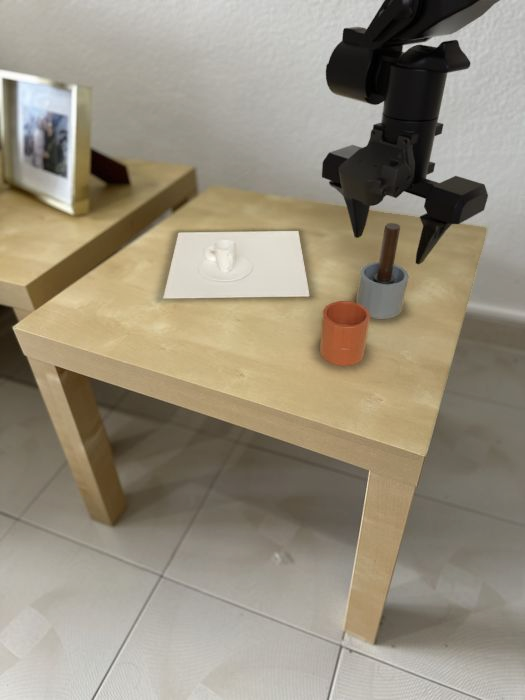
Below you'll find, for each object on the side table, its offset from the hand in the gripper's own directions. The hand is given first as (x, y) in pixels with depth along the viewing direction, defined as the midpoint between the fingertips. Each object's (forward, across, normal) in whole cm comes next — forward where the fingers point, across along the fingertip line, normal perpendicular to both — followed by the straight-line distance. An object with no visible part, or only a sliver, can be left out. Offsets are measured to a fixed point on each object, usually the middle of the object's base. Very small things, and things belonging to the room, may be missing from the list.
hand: (387, 249), depth 63 cm
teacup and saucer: (+9, -22, -6) cm, 24 cm away
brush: (+8, 0, 0) cm, 8 cm away
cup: (+8, 0, 0) cm, 8 cm away
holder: (+8, +3, -11) cm, 14 cm away
